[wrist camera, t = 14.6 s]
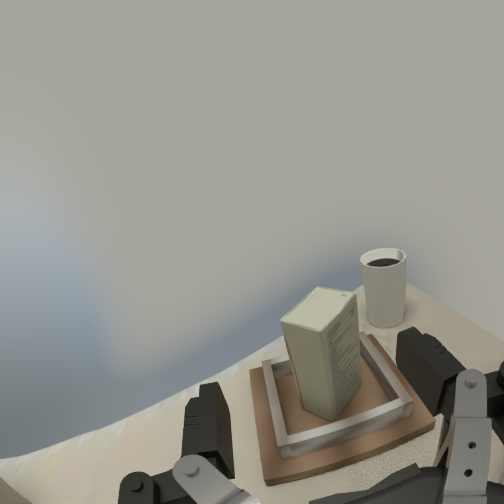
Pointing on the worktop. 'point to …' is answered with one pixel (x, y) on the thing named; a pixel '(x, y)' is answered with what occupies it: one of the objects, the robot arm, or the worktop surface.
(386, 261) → the white coffee cup
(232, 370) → the worktop surface
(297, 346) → the skincare box
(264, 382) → the socket board
